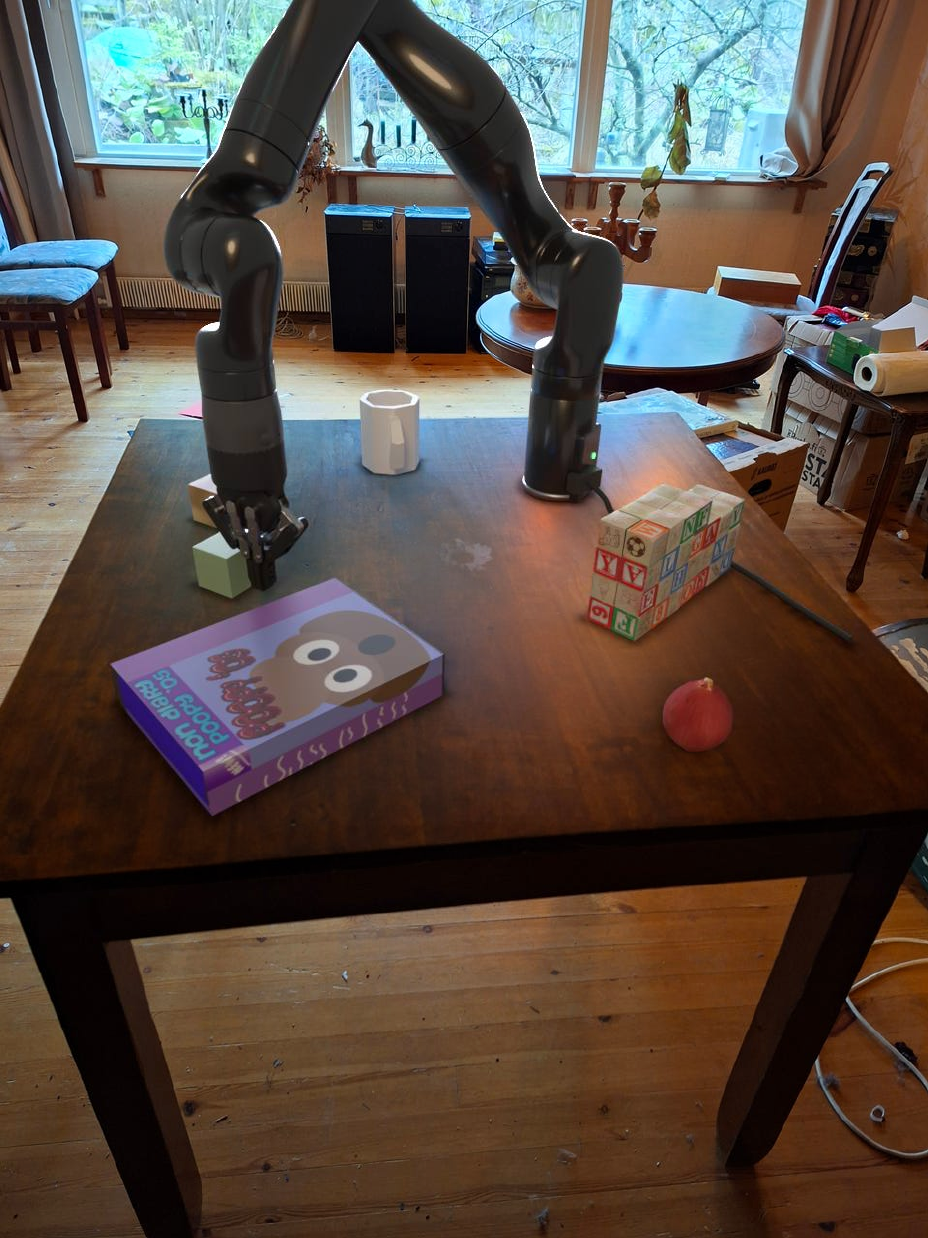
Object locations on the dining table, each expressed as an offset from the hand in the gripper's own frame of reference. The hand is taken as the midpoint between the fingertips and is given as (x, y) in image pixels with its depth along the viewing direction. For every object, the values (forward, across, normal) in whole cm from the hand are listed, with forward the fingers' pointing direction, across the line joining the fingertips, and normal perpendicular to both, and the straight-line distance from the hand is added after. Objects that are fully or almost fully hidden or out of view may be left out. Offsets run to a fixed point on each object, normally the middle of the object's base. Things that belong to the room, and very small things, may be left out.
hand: (263, 586), depth 91 cm
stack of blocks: (+2, -38, -25) cm, 45 cm away
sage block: (+1, +5, 0) cm, 5 cm away
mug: (+1, +8, -37) cm, 38 cm away
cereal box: (-1, -18, +1) cm, 18 cm away
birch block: (+1, +17, -12) cm, 21 cm away
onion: (+2, -48, 0) cm, 48 cm away
